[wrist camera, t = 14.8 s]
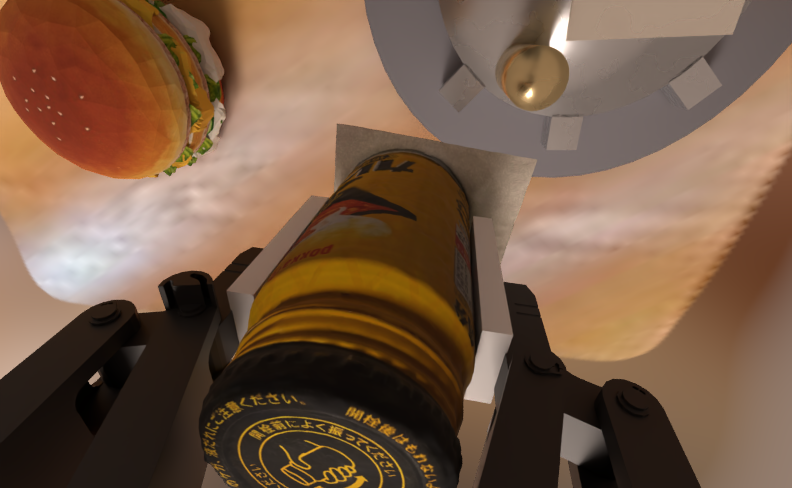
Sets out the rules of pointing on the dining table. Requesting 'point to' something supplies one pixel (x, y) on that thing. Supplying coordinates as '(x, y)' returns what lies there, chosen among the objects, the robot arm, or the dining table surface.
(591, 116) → the base
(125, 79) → the burger
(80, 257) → the dining table surface
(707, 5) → the grey disc with blocks
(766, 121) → the dining table surface
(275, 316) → the condiment
